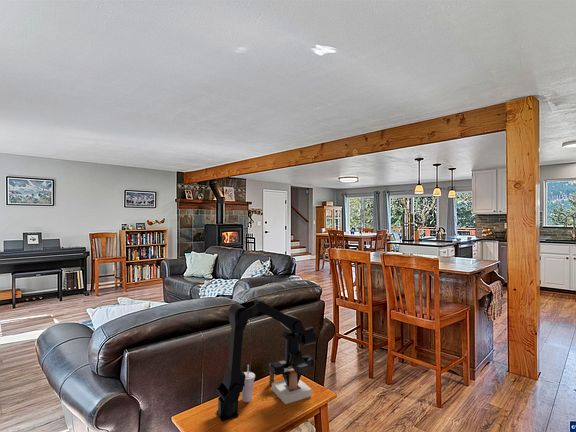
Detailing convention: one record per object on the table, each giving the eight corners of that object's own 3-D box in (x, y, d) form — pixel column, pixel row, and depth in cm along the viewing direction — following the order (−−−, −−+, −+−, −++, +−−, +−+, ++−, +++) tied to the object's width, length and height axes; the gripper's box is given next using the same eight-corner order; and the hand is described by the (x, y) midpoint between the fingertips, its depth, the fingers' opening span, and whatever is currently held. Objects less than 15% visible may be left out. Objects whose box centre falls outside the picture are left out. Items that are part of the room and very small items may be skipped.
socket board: (285, 404, 130) (285, 396, 130) (271, 389, 140) (271, 382, 140) (311, 396, 135) (311, 389, 135) (296, 383, 146) (296, 376, 146)
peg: (290, 393, 134) (290, 373, 134) (285, 389, 138) (285, 369, 138) (298, 391, 136) (299, 371, 136) (294, 386, 140) (294, 367, 140)
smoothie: (247, 405, 128) (247, 369, 128) (235, 400, 132) (235, 365, 132) (258, 398, 133) (258, 363, 133) (246, 393, 137) (247, 359, 137)
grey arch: (272, 388, 142) (273, 367, 142) (268, 383, 145) (269, 363, 145) (293, 382, 146) (293, 362, 146) (289, 378, 150) (289, 359, 150)
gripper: (281, 359, 125) (281, 400, 125) (322, 350, 134) (322, 388, 134) (269, 348, 135) (268, 387, 135) (308, 341, 144) (307, 377, 144)
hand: (292, 385), depth 137 cm, fingers closed on peg, 4 cm apart
